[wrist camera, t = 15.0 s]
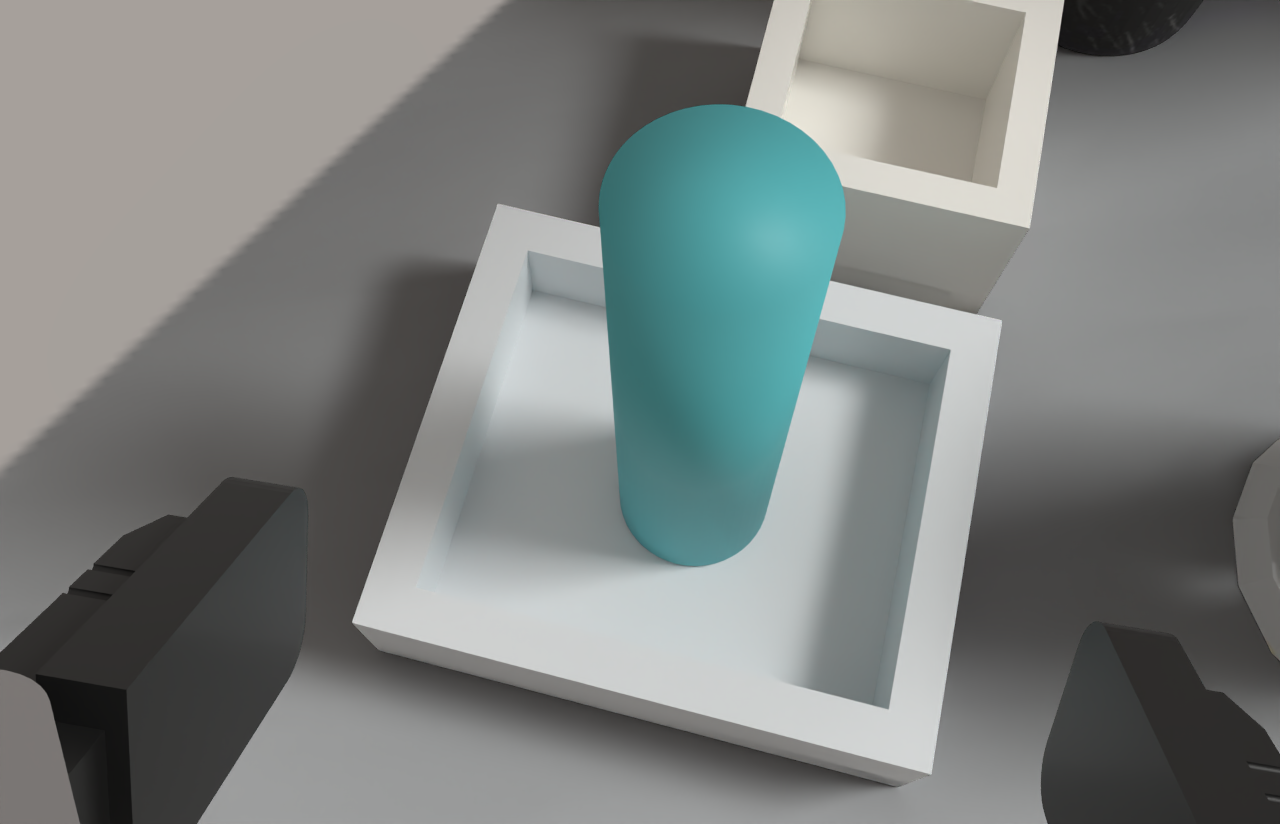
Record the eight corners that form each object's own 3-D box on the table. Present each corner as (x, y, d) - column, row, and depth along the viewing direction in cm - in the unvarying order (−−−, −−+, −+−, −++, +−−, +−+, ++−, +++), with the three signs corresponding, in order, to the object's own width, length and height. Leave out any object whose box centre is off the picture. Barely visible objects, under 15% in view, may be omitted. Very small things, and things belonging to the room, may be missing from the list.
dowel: (639, 412, 33) (631, 84, 20) (781, 443, 33) (864, 129, 20) (603, 546, 32) (570, 284, 19) (751, 581, 31) (821, 337, 18)
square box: (770, 48, 39) (791, -65, 35) (1011, 100, 39) (1065, -8, 34) (716, 254, 36) (731, 161, 32) (976, 314, 36) (1029, 228, 31)
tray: (508, 265, 36) (497, 203, 33) (966, 373, 35) (1002, 320, 32) (378, 650, 32) (351, 622, 28) (898, 786, 31) (930, 774, 27)
